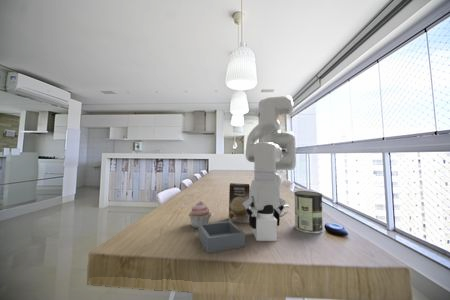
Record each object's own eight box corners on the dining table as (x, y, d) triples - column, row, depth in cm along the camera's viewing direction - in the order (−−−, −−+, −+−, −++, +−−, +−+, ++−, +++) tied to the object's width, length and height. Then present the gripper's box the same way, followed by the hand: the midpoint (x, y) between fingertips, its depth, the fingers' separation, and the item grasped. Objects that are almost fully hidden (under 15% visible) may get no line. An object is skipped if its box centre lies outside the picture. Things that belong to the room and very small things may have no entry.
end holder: (229, 232, 68) (230, 220, 68) (244, 246, 56) (245, 233, 57) (198, 236, 63) (198, 224, 64) (207, 253, 52) (208, 238, 52)
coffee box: (228, 222, 78) (228, 184, 79) (229, 217, 85) (229, 183, 86) (249, 223, 78) (249, 185, 78) (249, 218, 84) (249, 183, 85)
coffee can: (318, 225, 76) (317, 191, 77) (326, 235, 66) (326, 196, 67) (292, 223, 78) (292, 190, 79) (297, 232, 68) (296, 194, 69)
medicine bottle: (277, 241, 60) (277, 204, 61) (256, 241, 60) (256, 204, 61) (271, 233, 67) (271, 200, 68) (252, 232, 67) (252, 200, 68)
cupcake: (189, 231, 68) (189, 204, 69) (187, 222, 77) (188, 199, 78) (213, 229, 70) (214, 203, 71) (209, 221, 79) (209, 198, 80)
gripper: (278, 175, 72) (278, 220, 70) (238, 176, 65) (237, 225, 64) (291, 177, 65) (291, 226, 63) (248, 178, 58) (248, 233, 57)
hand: (264, 226), depth 64 cm, fingers closed on medicine bottle, 9 cm apart
